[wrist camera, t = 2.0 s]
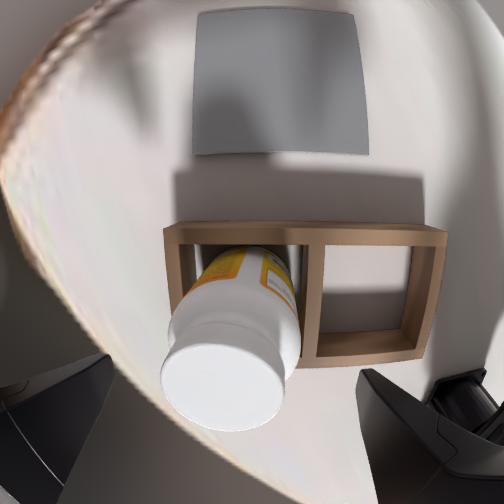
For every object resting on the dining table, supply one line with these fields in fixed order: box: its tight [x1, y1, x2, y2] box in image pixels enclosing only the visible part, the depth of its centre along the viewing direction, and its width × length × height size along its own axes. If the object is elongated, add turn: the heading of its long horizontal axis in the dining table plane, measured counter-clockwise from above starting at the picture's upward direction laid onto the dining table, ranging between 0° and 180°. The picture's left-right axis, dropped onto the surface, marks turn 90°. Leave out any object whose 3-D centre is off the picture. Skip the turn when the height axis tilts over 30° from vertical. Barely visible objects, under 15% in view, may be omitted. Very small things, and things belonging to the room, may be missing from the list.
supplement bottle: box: [160, 245, 301, 431], centre depth 12 cm, size 5×5×10 cm
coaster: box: [192, 9, 369, 156], centre depth 14 cm, size 10×10×1 cm
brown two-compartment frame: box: [163, 221, 448, 369], centre depth 15 cm, size 15×8×3 cm, turn 91°
